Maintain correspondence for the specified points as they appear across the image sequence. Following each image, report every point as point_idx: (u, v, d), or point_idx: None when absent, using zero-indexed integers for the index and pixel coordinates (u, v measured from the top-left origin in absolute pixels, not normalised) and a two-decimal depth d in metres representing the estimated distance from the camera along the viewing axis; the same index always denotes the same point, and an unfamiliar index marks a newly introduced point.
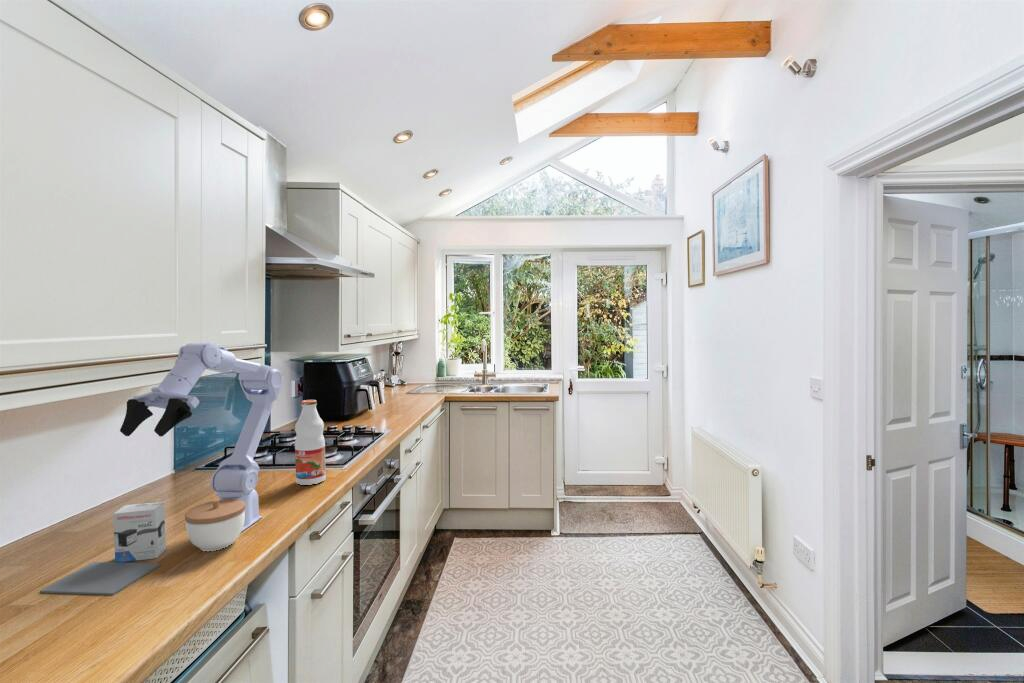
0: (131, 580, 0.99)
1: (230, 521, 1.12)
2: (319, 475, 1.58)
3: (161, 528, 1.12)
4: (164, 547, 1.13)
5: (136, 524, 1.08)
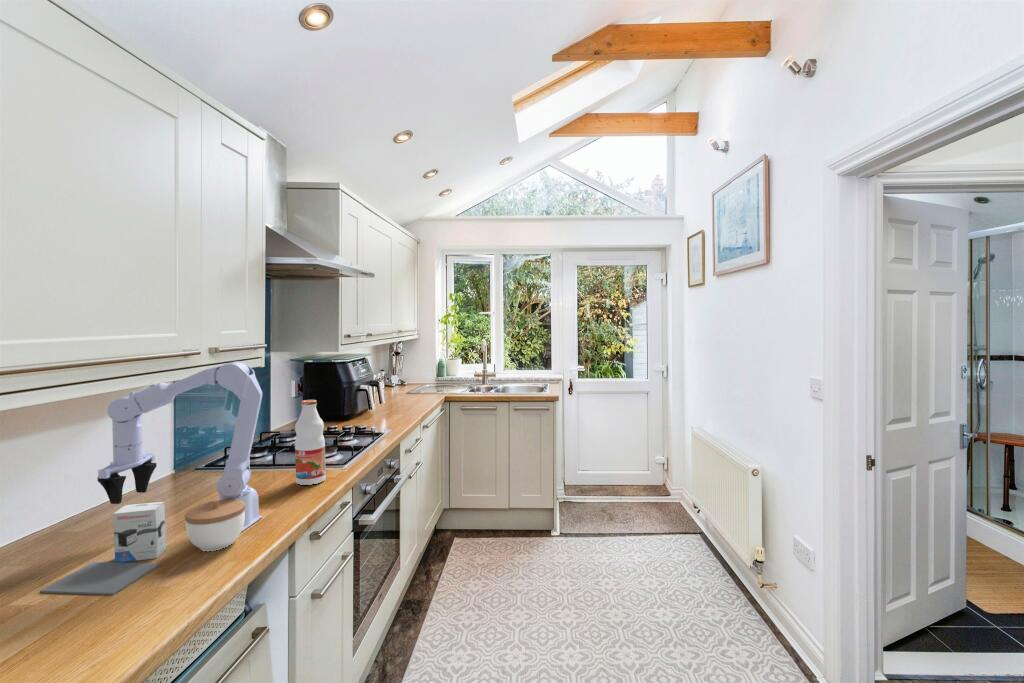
0: (131, 580, 0.99)
1: (230, 521, 1.12)
2: (319, 475, 1.58)
3: (161, 528, 1.12)
4: (164, 547, 1.13)
5: (137, 524, 1.08)
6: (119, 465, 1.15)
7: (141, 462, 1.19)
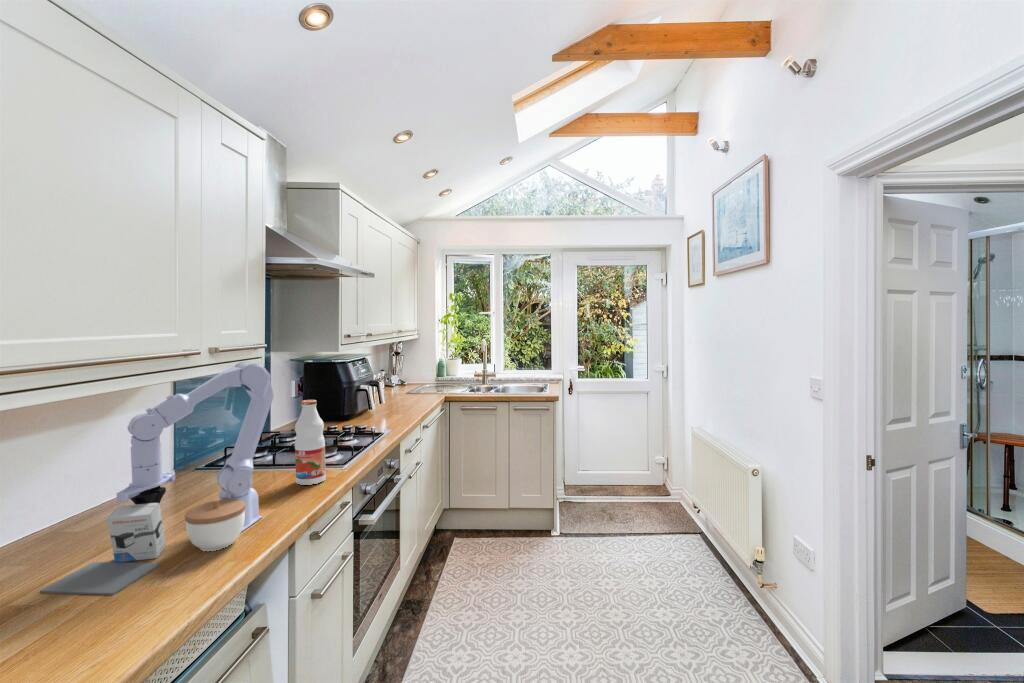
0: (131, 580, 0.99)
1: (230, 521, 1.12)
2: (319, 475, 1.58)
3: (159, 529, 1.10)
4: (163, 544, 1.13)
5: (133, 528, 1.06)
6: (138, 487, 1.09)
7: (161, 483, 1.13)
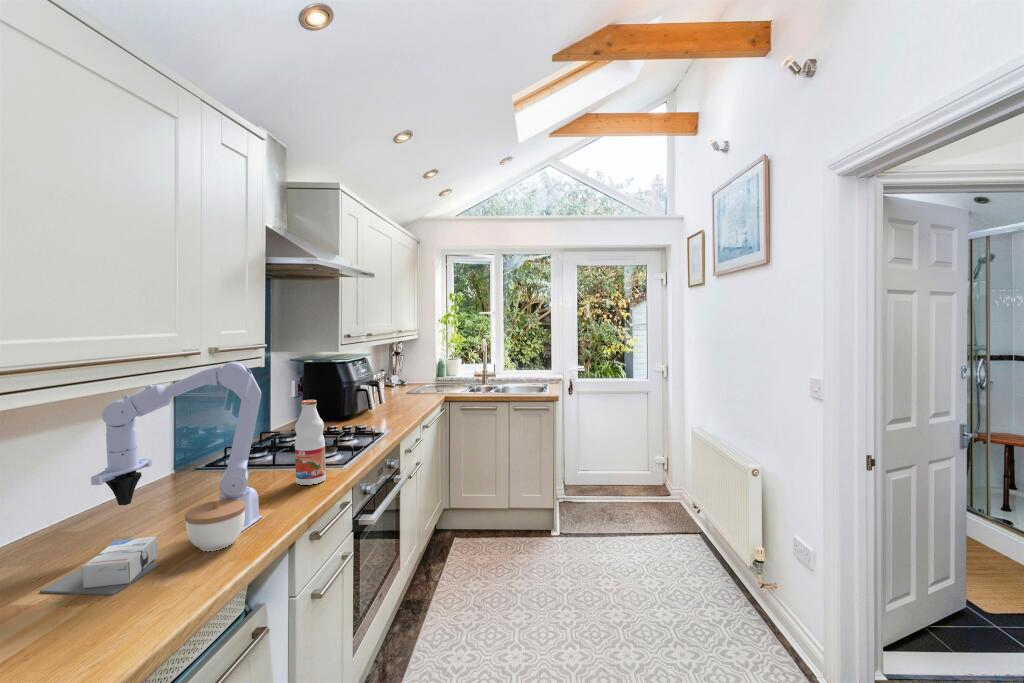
0: None
1: (230, 521, 1.12)
2: (319, 475, 1.58)
3: (144, 557, 1.03)
4: (155, 542, 1.08)
5: None
6: (113, 471, 1.12)
7: (136, 468, 1.15)
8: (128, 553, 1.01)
